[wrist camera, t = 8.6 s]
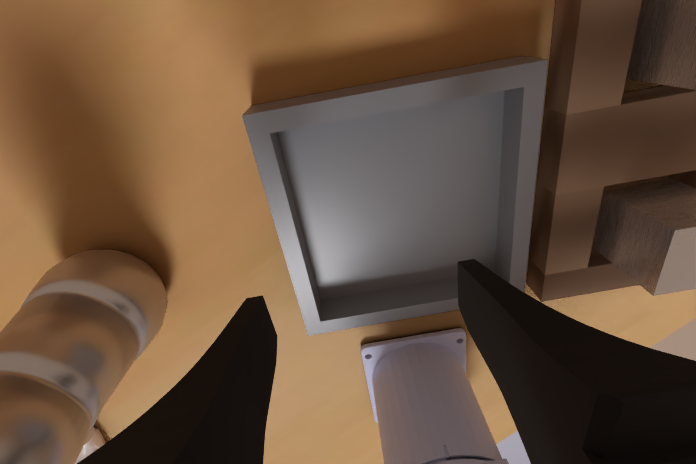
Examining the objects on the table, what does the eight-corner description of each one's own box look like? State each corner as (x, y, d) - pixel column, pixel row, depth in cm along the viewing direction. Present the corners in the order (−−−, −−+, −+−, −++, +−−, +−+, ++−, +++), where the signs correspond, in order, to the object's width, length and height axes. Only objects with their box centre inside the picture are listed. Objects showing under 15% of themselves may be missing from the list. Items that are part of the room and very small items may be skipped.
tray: (506, 275, 25) (523, 298, 23) (309, 309, 25) (308, 335, 23) (521, 56, 18) (548, 59, 16) (251, 105, 19) (242, 115, 16)
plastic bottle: (104, 215, 21) (-944, 1118, 4) (200, 283, 24) (-128, 977, 6) (45, 277, 23) (-851, 1086, 5) (140, 333, 26) (-245, 988, 8)
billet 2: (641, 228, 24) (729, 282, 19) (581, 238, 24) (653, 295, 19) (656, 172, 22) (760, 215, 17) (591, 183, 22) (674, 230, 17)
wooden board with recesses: (681, 256, 25) (707, 273, 24) (526, 283, 26) (541, 301, 24) (815, -124, 16) (878, -143, 14) (563, -75, 16) (593, -88, 14)
